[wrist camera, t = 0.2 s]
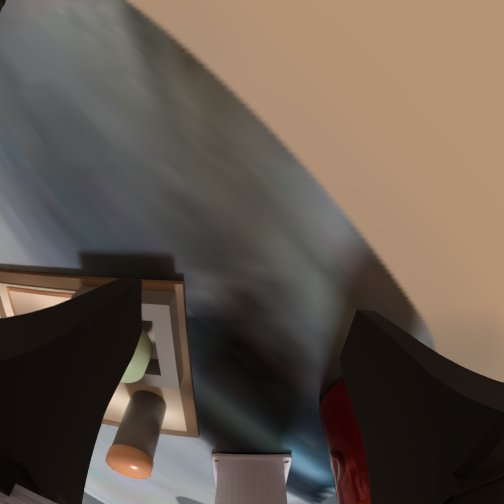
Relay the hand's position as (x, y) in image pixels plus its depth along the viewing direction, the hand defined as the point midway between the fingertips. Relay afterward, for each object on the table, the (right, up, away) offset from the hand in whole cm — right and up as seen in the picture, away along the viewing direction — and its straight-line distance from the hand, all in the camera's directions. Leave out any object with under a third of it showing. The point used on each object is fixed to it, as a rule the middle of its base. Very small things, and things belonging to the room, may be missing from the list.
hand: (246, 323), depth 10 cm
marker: (-9, -11, +14) cm, 19 cm away
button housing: (-8, -3, +11) cm, 14 cm away
